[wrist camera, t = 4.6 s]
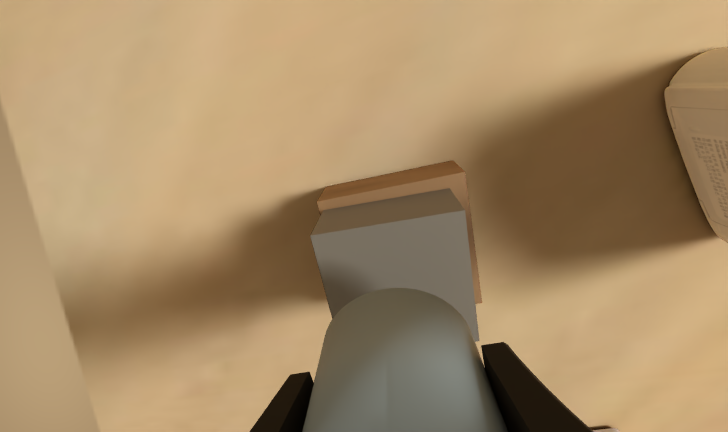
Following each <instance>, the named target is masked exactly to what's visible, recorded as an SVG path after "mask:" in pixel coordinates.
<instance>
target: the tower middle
mask: <svg viewBox="0 0 728 432" xmlns="http://www.w3.org/2000/svg"><path fill="white" fill-rule="evenodd" d="M310 237H311V241H312V244H313V248H314V252H315V255H316V259H317V263H318V267H319V270H320V274H321V278H322V282H323V285H324V289H325V293H326V296H327V300H328V304H329V308H330V311H331V315H332V319H333V318H334V316H335V315H336V314H337V313H338V312H339V311H340V310H341V309H342V308H343V307H344V306H345V305H347V304H348V303H349V302H351V301H352V300H354V299H356V298H357V297H360V296H362V295H364V294H366V293H369V292H372V291H376V290H381V289H386V288H409V289H416V290H420V291H424V292H428V293H430V294H433V295H435V296H437V297H439V298H441V299H443V300H445V301H446V302H447V303H449V304H450V305H452V306H453V307H454V308H455V309H456V310H457V311H458V312H459V313H460V314H461V315H462V317H463V318H464V319H465V320H466V322H467V324H468V326H469V328H470V330H471V333H472V336H473V338H474V341H475V342H476V341H479V333H478V324H477V315H476V306H475V297H474V288H473V278H472V269H471V260H470V251H469V242H468V233H467V223H466V214H465V209H464V208H463V206H462V205H461V204H460V202H459V201H458V199H457V198H456V196H455V195H454V193H453V192H452V191H451V189H450V188H447V189H441V190H436V191H430V192H424V193H418V194H413V195H407V196H401V197H395V198H390V199H384V200H378V201H373V202H367V203H361V204H355V205H350V206H344V207H338V208H332V209H327V210H323V212H322V214H321V216H320V218H319V220H318V222H317V224H316V226H315V228H314V229H313V231H312V233H311V235H310Z"/></svg>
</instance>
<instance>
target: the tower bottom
mask: <svg viewBox="0 0 728 432" xmlns="http://www.w3.org/2000/svg"><path fill="white" fill-rule="evenodd" d="M447 188H450V189H451V191H452V192H453V193H454V195H455V196H456V198H457V199H458V201H459V202H460V204H461V205H462V206H463V208H464V209H465V214H466V223H467V233H468V242H469V251H470V260H471V269H472V278H473V288H474V297H475V304H478V303H482V298H481V290H480V282H479V274H478V267H477V259H476V251H475V244H474V236H473V228H472V221H471V213H470V205H469V198H468V190H467V182H466V175H465V171H464V170H463V169H462V168H461V167H459V166H458V165H457V164H456V163H455V162H454V161H448V162H443V163H439V164H434V165H429V166H424V167H419V168H414V169H409V170H405V171H400V172H395V173H390V174H385V175H380V176H376V177H371V178H366V179H361V180H356V181H351V182H347V183H342V184H337V185H332V186H327V187H326V188H325V189H324V191H323V193H322V194H321V196H320V197H319V199H318V201H317V205H318V208H319V212H320V216H321V214H322V212H323V210H327V209H332V208H338V207H344V206H350V205H355V204H361V203H367V202H373V201H378V200H384V199H390V198H395V197H401V196H407V195H413V194H418V193H424V192H430V191H436V190H441V189H447Z"/></svg>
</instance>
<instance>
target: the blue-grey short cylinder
mask: <svg viewBox="0 0 728 432" xmlns="http://www.w3.org/2000/svg"><path fill="white" fill-rule="evenodd" d="M302 432H508V430H507V427H506V425H505V422H504V419H503V416H502V414H501V411H500V408H499V406H498V403H497V400H496V398H495V395H494V392H493V389H492V387H491V384H490V381H489V379H488V376H487V373H486V371H485V368H484V365H483V363H482V360H481V357H480V354H479V352H478V349H477V346H476V344H475V341H474V338H473V336H472V333H471V330H470V328H469V326H468V324H467V322H466V320H465V319H464V318H463V317H462V315H461V314H460V313H459V312H458V311H457V310H456V309H455V308H454V307H453V306H452V305H450V304H449V303H447V302H446V301H445V300H443V299H441V298H439V297H437V296H435V295H433V294H430V293H428V292H424V291H420V290H416V289H409V288H386V289H381V290H376V291H372V292H369V293H366V294H364V295H362V296H360V297H357V298H356V299H354V300H352V301H351V302H349V303H348V304H347V305H345V306H344V307H343V308H342V309H341V310H340V311H339V312H338V313H337V314H336V315H335V316H334V318H333V319H332V321H331V322H330V324H329V327H328V329H327V331H326V335H325V338H324V342H323V347H322V351H321V355H320V359H319V364H318V368H317V372H316V376H315V380H314V385H313V389H312V393H311V397H310V402H309V406H308V410H307V414H306V418H305V423H304V427H303V431H302Z"/></svg>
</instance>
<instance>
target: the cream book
mask: <svg viewBox="0 0 728 432" xmlns="http://www.w3.org/2000/svg"><path fill="white" fill-rule="evenodd" d="M664 96H665V103H666V109H667V114H668V117H669V120H670V124H671V126H672V129H673V132H674V135H675V138H676V141H677V144H678V146H679V149H680V152H681V155H682V158H683V160H684V163H685V166H686V168H687V171H688V174H689V176H690V179H691V181H692V184H693V186H694V189H695V192H696V194H697V197H698V199H699V203H700V205H701V207H702V209H703V211H704V214H705V216H706V218H707V220H708V222H709V224H710V226H711V227H712V229H713V230H714V232H715V233H716V234H717V235H718V236H719V237H720V238H721V239H722V240H724V241H726V242H727V243H728V47H722V48H717V49H712V50H709V51H706V52H704V53H702V54H699V55H697V56H696V57H694V58H693V59H691V60H690V61H688V62H687V63H686V64H685V65H683V66H682V67H681V68H680V69H679V71H678V72H677V73H676V74H675V75H674V77H673V78H672V80H671V81H670V84H669V87H667V88H666V89H665V92H664Z"/></svg>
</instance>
